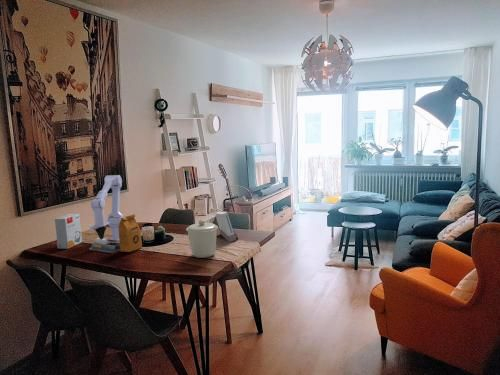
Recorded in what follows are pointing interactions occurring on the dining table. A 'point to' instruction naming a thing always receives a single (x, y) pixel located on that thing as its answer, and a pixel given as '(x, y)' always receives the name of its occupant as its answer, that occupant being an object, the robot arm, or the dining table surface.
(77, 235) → the hard drive box
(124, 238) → the coffee package
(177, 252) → the dining table surface
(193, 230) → the canister
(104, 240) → the white rectangular block
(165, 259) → the dining table surface
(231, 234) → the gaming console
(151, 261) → the dining table surface
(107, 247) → the frame
